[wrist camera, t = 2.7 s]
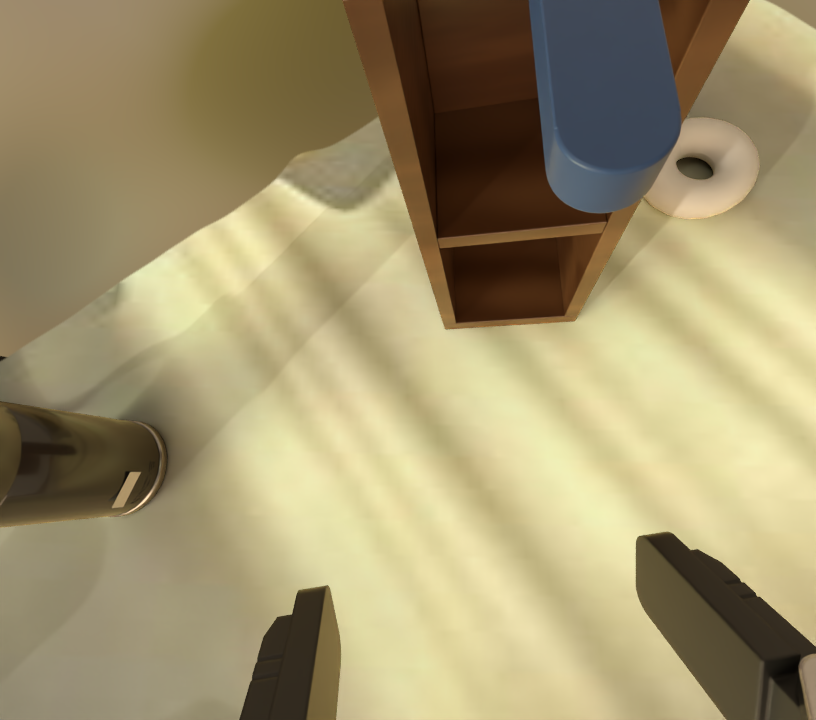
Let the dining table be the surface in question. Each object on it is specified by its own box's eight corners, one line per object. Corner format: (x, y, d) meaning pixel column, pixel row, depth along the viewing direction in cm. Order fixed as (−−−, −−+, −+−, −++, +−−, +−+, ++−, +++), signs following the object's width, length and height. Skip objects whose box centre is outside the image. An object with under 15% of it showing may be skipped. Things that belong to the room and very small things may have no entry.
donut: (718, 243, 39) (765, 155, 40) (739, 222, 36) (789, 127, 37) (611, 203, 42) (658, 122, 43) (621, 181, 39) (671, 93, 40)
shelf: (575, 321, 40) (850, -182, 9) (444, 329, 42) (322, -60, 11) (564, 225, 42) (752, -414, 12) (442, 237, 44) (338, -280, 14)
